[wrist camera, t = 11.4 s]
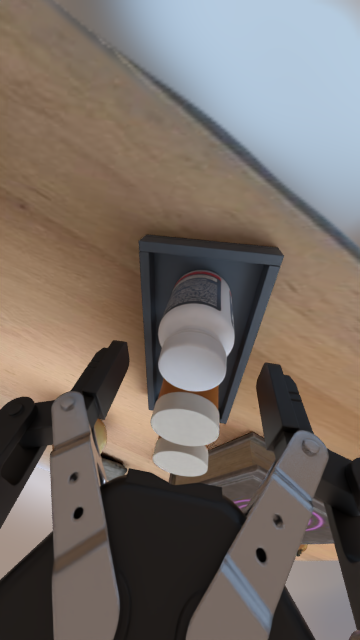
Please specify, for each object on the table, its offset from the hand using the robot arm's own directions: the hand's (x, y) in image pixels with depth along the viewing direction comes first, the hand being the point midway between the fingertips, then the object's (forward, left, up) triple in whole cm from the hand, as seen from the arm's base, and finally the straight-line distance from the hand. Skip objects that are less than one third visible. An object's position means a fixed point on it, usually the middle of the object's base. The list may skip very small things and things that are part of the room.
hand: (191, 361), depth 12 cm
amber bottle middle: (+7, 0, -8) cm, 11 cm away
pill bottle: (0, 0, -9) cm, 9 cm away
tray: (+7, 0, -9) cm, 11 cm away
